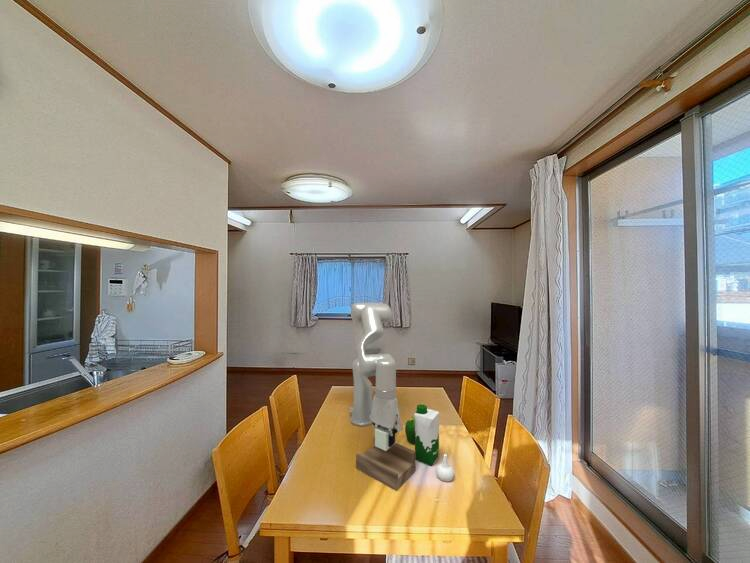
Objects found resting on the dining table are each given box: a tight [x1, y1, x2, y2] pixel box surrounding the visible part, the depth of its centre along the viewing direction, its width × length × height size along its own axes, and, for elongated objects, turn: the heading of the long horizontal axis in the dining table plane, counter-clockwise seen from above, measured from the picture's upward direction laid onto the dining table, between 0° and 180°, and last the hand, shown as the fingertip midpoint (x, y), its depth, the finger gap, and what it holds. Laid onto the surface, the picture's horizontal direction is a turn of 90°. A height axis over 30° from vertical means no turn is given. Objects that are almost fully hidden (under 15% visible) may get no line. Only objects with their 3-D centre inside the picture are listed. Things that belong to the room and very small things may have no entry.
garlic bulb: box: [435, 453, 455, 482], centre depth 98 cm, size 6×6×8 cm
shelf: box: [355, 436, 417, 491], centre depth 101 cm, size 13×18×7 cm
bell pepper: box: [404, 415, 415, 445], centre depth 120 cm, size 8×8×10 cm
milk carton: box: [413, 404, 440, 467], centre depth 108 cm, size 9×9×20 cm
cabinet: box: [374, 426, 396, 451], centre depth 101 cm, size 5×6×7 cm
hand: (385, 442), depth 101 cm, fingers closed on cabinet, 5 cm apart
